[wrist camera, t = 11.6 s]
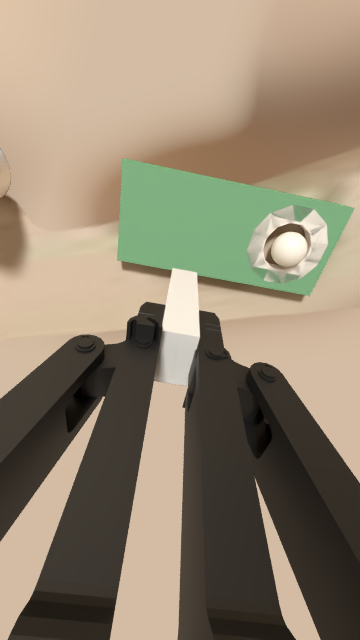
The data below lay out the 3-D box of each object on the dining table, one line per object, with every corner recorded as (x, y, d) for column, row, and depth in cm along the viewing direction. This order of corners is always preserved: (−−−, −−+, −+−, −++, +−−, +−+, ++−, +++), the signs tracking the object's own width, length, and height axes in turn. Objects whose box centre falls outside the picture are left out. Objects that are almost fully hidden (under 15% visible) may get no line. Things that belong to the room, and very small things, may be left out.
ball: (273, 226, 32) (303, 238, 29) (290, 227, 34) (320, 239, 32) (259, 259, 34) (286, 273, 31) (276, 258, 37) (303, 271, 34)
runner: (126, 158, 30) (122, 158, 28) (345, 205, 32) (354, 208, 30) (120, 255, 36) (117, 260, 35) (304, 290, 38) (309, 295, 36)
